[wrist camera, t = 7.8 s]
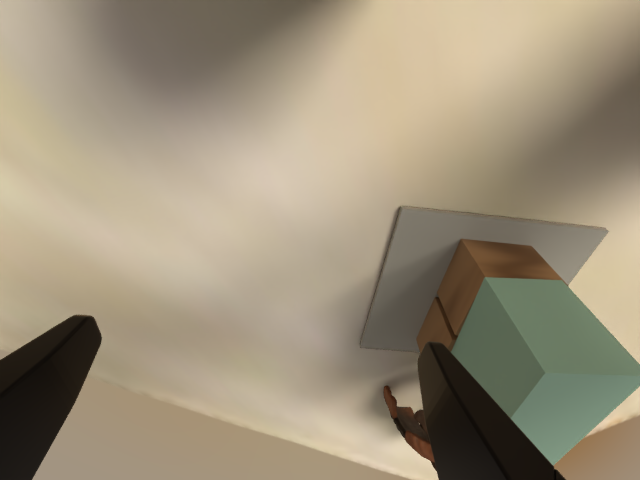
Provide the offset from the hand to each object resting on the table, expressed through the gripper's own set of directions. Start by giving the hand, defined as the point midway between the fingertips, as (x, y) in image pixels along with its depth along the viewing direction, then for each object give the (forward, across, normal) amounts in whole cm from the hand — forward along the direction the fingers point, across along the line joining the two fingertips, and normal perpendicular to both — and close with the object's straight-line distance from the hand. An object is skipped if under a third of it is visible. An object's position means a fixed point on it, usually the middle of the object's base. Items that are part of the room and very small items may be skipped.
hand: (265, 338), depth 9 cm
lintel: (+8, -14, +9) cm, 18 cm away
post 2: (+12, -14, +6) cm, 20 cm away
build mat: (+12, -14, +9) cm, 21 cm away
